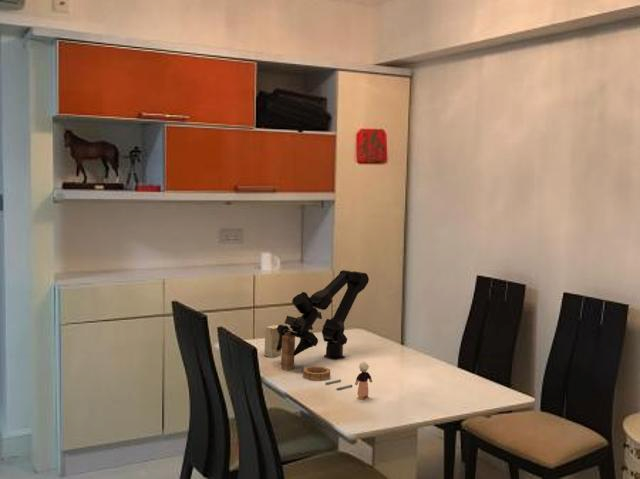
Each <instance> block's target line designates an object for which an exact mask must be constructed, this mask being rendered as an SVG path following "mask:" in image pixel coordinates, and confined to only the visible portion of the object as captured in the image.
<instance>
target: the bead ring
mask: <svg viewBox="0 0 640 479" xmlns="http://www.w3.org/2000/svg"><path fill="white" fill-rule="evenodd" d="M302 378H303V379H305V380H309V381H314V382H316V381H318V382H321V381H327V380H330V378H331V369H330V368H328V367H325V366H317V365H315V366H314V365H312V366H306V367H304V368H303V370H302Z"/></svg>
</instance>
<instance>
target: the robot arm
mask: <svg viewBox="0 0 640 479" xmlns="http://www.w3.org/2000/svg"><path fill="white" fill-rule="evenodd" d="M369 281H370V278H369V275H368V273H366V272H361V271H355V270H354V271H350V270H345V269H343V270H340V271H339V273H338V274H337V276H335V277H334V279H332V280H331V281H330V282H329V284H327V285H326V286H325V287H324V288H323V289H320V290H317V291H316V292H314V293H313V294H311V296H309V294H308V293H307V292H305V291H301V292H300V293H298V294H297V295H295V296H294V297H293V298H292V300H291V302H292V304H293V307H295V309H297V311H298V312H299V314H302V315H301V316H297V317H294V316H290V315H287V316H286V318H285V321H284V324H285V325H284V324H278V325H277V326H278V327H277V331H278V333H279V342H278V345H277V350H278V351H279V350H280V349H281V350H282V336H284V335H286V333H287V332H291V335H292V336H295V338H299V342H298V344H297V345H296V346H295V351H294V353H293V355H294V357H295V356H297V355H298V354H300V353H301V352H304V351H306V350H307V349H309V348H313V347H316V346H317V345H318V343H319V339H318V337H317V336H316V335H315V334H314V332H312V330H314V327H313V325H314V324H315V322H316V320H317V319H319V320H322V319H323V318H322V312H321V311H322V310H323V311H325V310H327V309H328V308H329V306H330V305H331V304H332V301H333V297H334V296H335V295H337V294H338V292H340V290H342V289H343V288H344V287H345V286H346V285H347V289H346V291H345V293H344V295H343V296H342V299H341V300H340V303H339V305H338V307H337V308H336V312H335V313H334V315H333V317H332V318H331V319H329V318H327V319H326V320H325V322H324V325H323V326H322V329H321V335H322V337H323V342H326V347H325V354H324V355H323V357H325V358H328V359H331V360H338V359H339V360H340V359H343V358H344V359H345V358H346V356H345V355H344V354H343V352H344V345H345V344H347V341H348V338H347V336H346V335H345V334H344V333H345V321H346V319H347V317H348V315H349V313H350V311H351V309H352V307H353V304H354V302H355V301H356V299H357V297H358V295H359V294H360V292H362V291H363V290H364V289H365V288H366V287H367V285H368V283H369ZM319 310H320V311H319ZM288 325H289V327H288Z"/></svg>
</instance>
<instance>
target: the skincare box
mask: <svg viewBox="0 0 640 479" xmlns="http://www.w3.org/2000/svg"><path fill="white" fill-rule="evenodd" d="M278 326H279V325H276V324H273V325H269V326H265V332H264V334H265V336H264V353H263V354H264V356H265V357H270V358H275V357H279V356H281V353H282V348H281V349H280V350H279V351H278V350H277V345H278V342H279V333H278V331H277V327H278Z"/></svg>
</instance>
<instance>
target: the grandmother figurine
mask: <svg viewBox="0 0 640 479" xmlns="http://www.w3.org/2000/svg"><path fill="white" fill-rule="evenodd" d="M358 367H359V371H360V372H361V373H358V374H357V377H356V378H355V382H354V385H355V386H357V385H358V388H357V398H356V399H358V400H361V401H365V400H366V399H370V397H369V382H370V384H371V383H373V379H372V376H371V375H370V373H369V372H368V369H369V368H370V367H369V364H368V363H367V362H366V361H361V362H360V363H359V365H358ZM368 380H369V381H368Z"/></svg>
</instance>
